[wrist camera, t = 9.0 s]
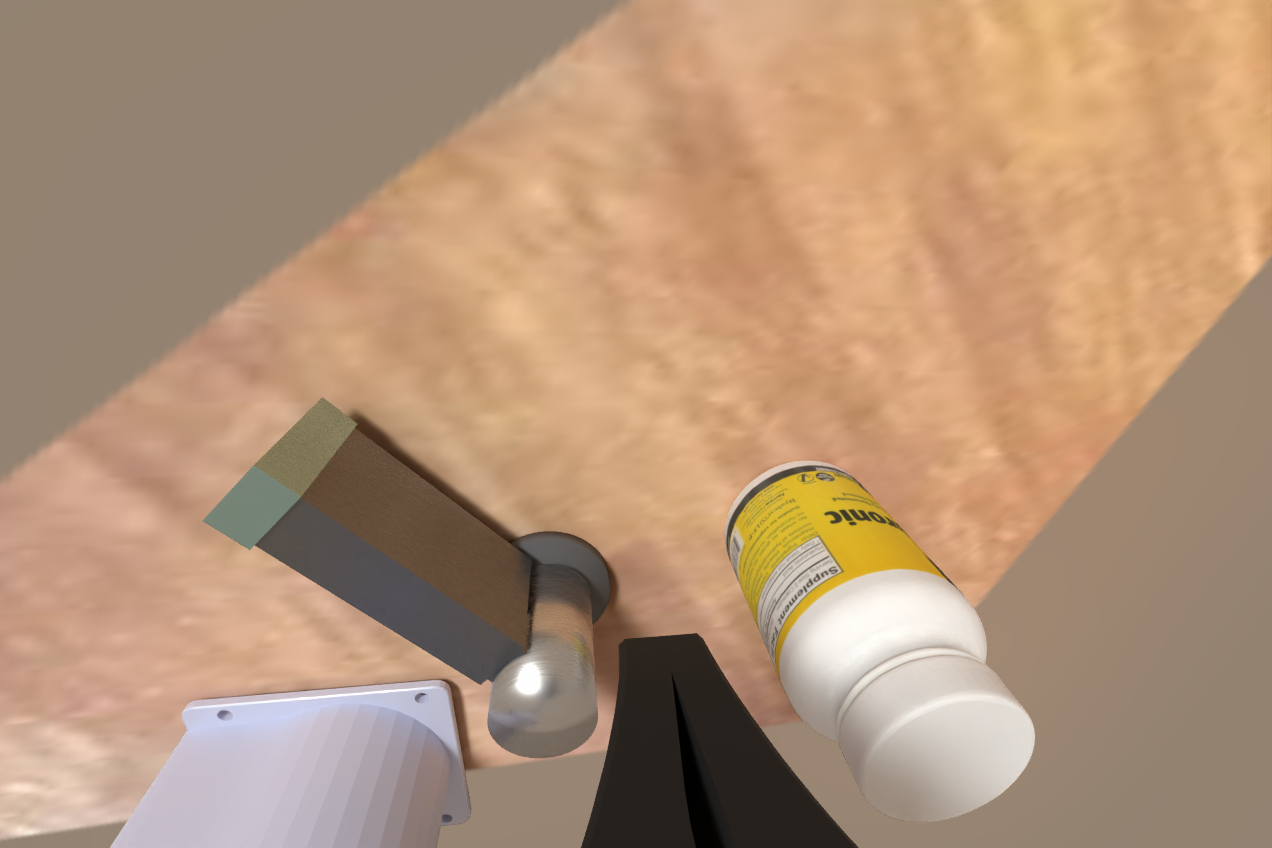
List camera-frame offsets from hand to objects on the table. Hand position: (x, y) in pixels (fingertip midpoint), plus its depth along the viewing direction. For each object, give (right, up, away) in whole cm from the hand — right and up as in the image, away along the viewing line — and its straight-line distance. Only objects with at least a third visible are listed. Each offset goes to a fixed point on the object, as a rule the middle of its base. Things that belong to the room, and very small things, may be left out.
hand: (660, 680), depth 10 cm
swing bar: (-6, +1, +9) cm, 11 cm away
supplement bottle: (+5, +1, +12) cm, 13 cm away
